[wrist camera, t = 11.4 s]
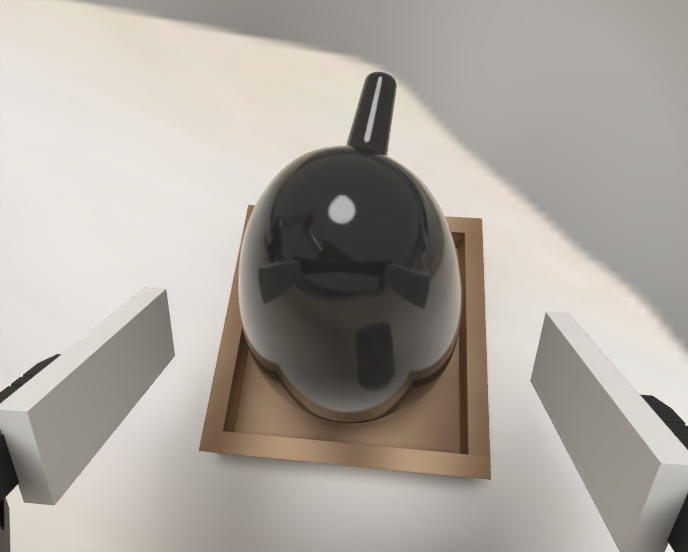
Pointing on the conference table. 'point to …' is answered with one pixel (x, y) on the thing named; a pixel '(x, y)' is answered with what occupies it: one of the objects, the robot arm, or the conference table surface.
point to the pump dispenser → (351, 277)
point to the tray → (375, 438)
